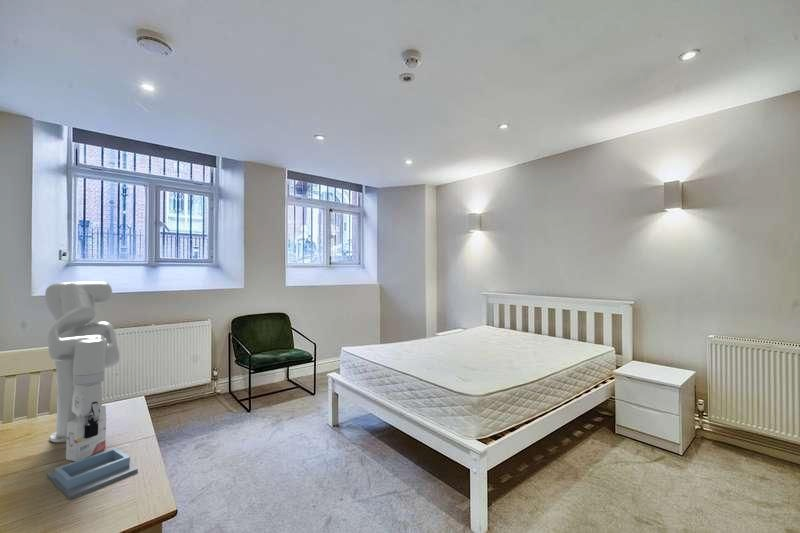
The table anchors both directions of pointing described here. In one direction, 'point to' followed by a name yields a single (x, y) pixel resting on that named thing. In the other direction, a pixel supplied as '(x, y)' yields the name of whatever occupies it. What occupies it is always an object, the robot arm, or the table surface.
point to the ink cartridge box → (78, 444)
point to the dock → (92, 472)
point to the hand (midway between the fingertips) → (87, 433)
